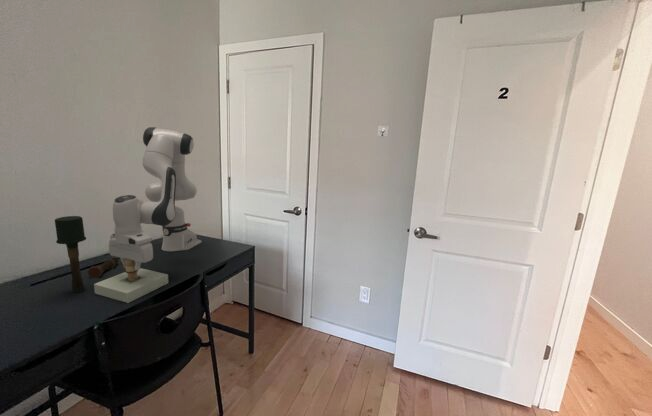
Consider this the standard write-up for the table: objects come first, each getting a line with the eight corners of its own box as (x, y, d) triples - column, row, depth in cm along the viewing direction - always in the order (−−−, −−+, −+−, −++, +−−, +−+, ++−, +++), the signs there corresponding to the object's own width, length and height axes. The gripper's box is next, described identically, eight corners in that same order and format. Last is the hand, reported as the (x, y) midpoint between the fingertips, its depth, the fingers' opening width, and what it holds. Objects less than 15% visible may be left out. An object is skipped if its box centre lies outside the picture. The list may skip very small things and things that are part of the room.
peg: (134, 279, 118) (132, 254, 116) (142, 281, 117) (139, 256, 115) (124, 283, 114) (121, 258, 112) (132, 285, 113) (129, 260, 111)
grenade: (84, 283, 117) (75, 214, 112) (97, 288, 114) (88, 217, 108) (59, 292, 110) (48, 218, 104) (71, 298, 107) (61, 221, 101)
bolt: (117, 268, 138) (96, 280, 124) (107, 263, 137) (85, 275, 123) (123, 258, 138) (102, 269, 123) (113, 253, 137) (91, 264, 122)
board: (138, 275, 127) (137, 267, 126) (168, 283, 122) (167, 274, 121) (94, 293, 110) (93, 283, 110) (128, 303, 105) (127, 293, 104)
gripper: (102, 234, 112) (106, 267, 115) (140, 242, 106) (143, 275, 108) (118, 230, 118) (121, 261, 121) (155, 237, 112) (157, 269, 114)
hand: (132, 268), depth 114 cm, fingers closed on peg, 4 cm apart
